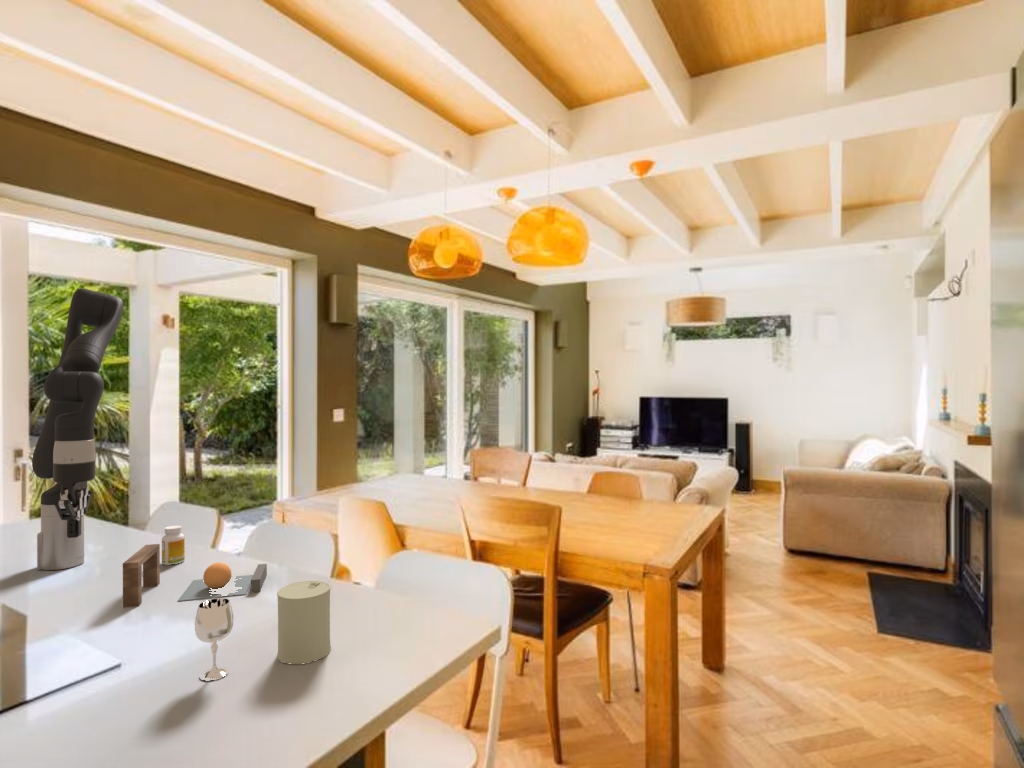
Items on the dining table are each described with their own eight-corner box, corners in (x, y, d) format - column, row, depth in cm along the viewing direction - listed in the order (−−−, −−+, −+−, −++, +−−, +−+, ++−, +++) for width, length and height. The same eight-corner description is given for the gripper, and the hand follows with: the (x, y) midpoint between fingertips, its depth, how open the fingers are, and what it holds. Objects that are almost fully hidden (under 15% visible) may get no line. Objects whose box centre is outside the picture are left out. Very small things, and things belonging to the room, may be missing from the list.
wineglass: (194, 687, 92) (194, 612, 92) (195, 671, 97) (195, 600, 97) (234, 678, 94) (233, 606, 94) (233, 663, 99) (232, 594, 99)
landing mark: (177, 601, 128) (177, 600, 128) (193, 580, 141) (193, 580, 141) (245, 594, 132) (245, 593, 132) (254, 575, 145) (254, 574, 145)
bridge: (122, 607, 124) (122, 563, 124) (145, 584, 138) (145, 544, 138) (138, 606, 125) (138, 562, 125) (159, 583, 139) (159, 543, 139)
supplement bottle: (189, 559, 158) (188, 524, 158) (175, 566, 153) (175, 529, 153) (171, 559, 159) (170, 524, 159) (157, 565, 153) (156, 529, 153)
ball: (234, 576, 134) (214, 597, 133) (239, 570, 140) (220, 590, 139) (214, 560, 133) (194, 580, 132) (220, 554, 139) (200, 574, 138)
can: (341, 645, 106) (341, 581, 106) (308, 668, 97) (308, 598, 97) (300, 638, 109) (300, 575, 109) (265, 660, 100) (265, 592, 100)
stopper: (250, 592, 133) (250, 580, 133) (258, 576, 144) (258, 564, 144) (260, 591, 133) (260, 579, 133) (266, 575, 145) (266, 563, 145)
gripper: (80, 463, 122) (80, 543, 123) (105, 455, 135) (105, 528, 135) (39, 464, 120) (39, 546, 120) (68, 456, 133) (68, 530, 133)
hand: (74, 536), depth 128 cm, fingers closed
